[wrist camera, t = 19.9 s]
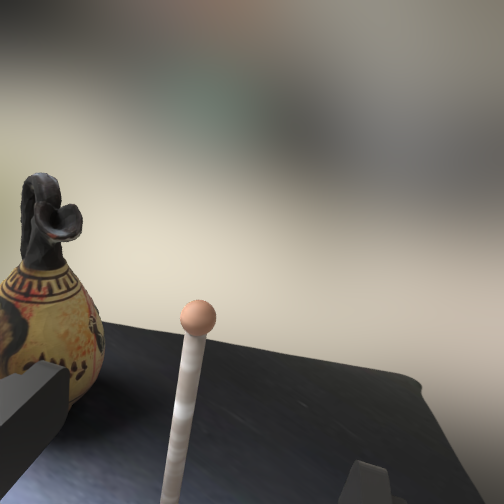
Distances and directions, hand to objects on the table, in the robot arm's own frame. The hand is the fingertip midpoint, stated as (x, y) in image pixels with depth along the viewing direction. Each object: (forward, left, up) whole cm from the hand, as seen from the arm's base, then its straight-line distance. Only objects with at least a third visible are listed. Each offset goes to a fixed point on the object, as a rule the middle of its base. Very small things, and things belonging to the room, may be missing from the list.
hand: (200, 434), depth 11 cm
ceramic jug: (+18, +36, -33) cm, 53 cm away
